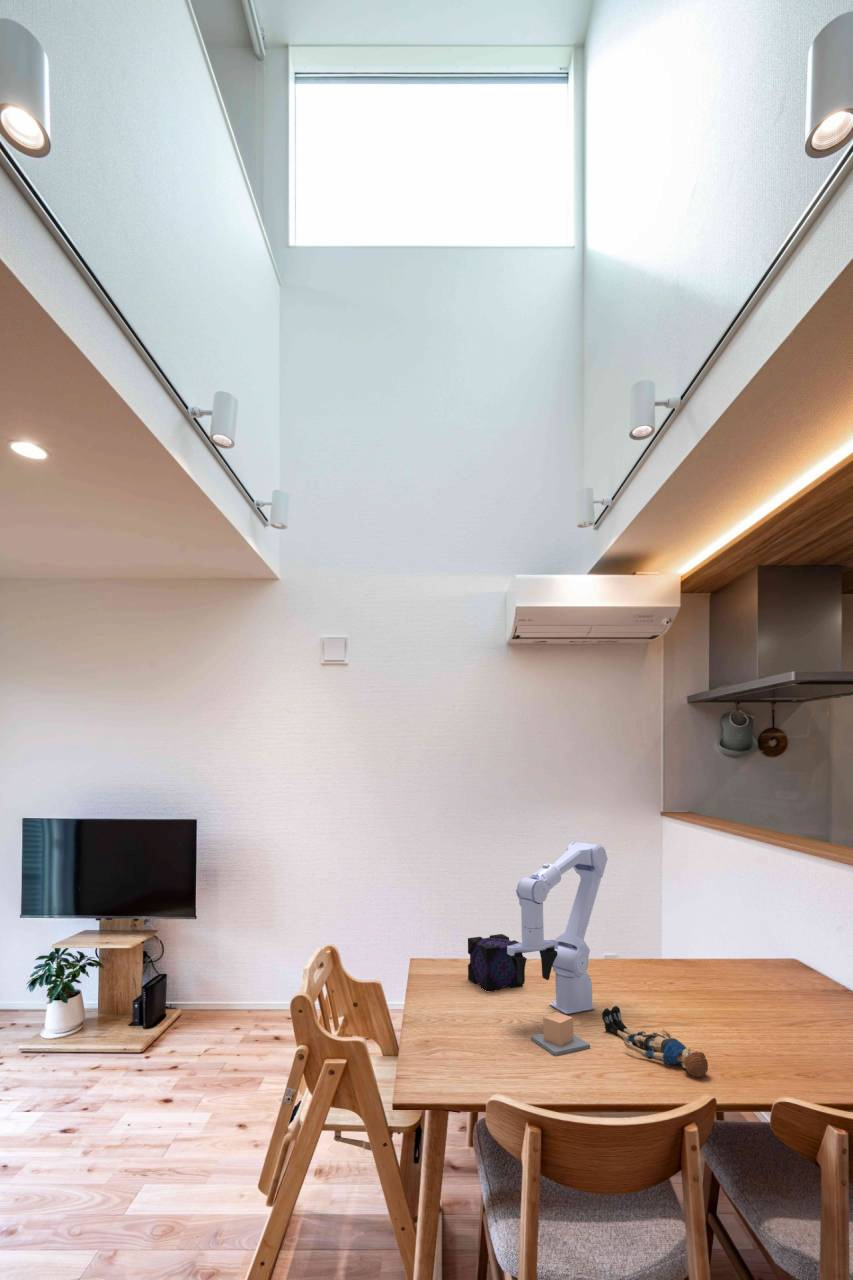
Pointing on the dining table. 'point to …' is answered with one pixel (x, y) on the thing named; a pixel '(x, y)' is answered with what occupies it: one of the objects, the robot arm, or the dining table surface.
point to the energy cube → (491, 963)
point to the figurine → (656, 1045)
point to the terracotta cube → (558, 1028)
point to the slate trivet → (557, 1049)
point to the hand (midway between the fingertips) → (533, 980)
